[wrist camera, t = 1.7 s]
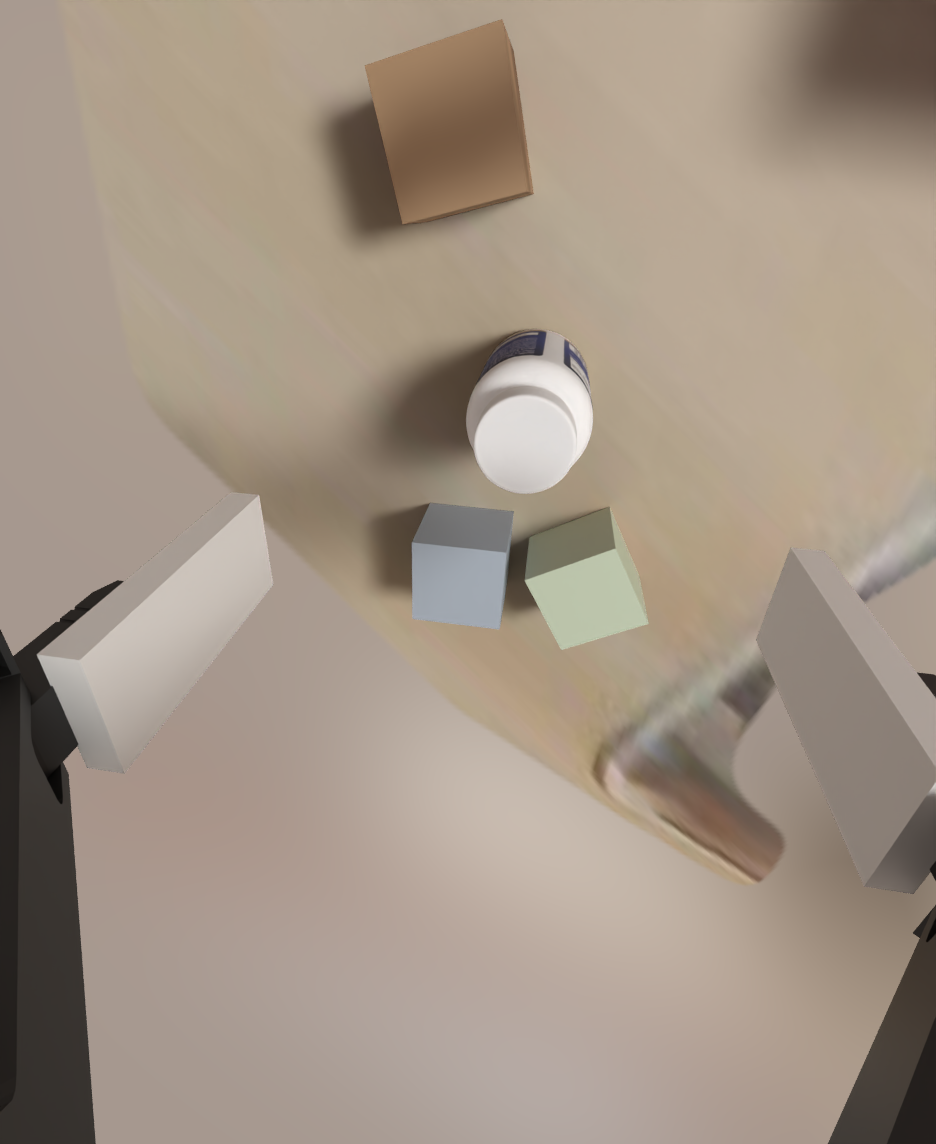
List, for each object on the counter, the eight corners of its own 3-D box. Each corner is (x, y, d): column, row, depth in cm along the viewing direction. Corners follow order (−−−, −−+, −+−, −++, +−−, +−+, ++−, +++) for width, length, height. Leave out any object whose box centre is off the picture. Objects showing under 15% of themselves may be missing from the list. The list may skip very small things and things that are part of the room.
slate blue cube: (430, 502, 35) (411, 542, 31) (513, 510, 35) (506, 552, 31) (429, 573, 38) (412, 618, 34) (507, 581, 38) (499, 629, 33)
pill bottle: (470, 413, 32) (437, 485, 24) (503, 311, 29) (477, 353, 21) (564, 446, 32) (563, 528, 24) (605, 348, 29) (620, 403, 21)
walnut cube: (399, 89, 25) (364, 65, 21) (513, 51, 24) (501, 19, 20) (427, 221, 28) (402, 224, 24) (533, 193, 27) (526, 191, 22)
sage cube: (529, 536, 36) (524, 580, 31) (609, 505, 34) (615, 548, 30) (561, 600, 38) (561, 649, 33) (639, 574, 36) (648, 623, 32)
